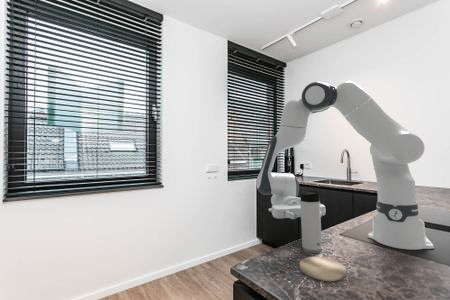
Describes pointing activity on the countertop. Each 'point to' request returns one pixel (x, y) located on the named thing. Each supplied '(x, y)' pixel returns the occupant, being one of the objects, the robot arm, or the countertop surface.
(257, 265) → the countertop surface
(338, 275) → the gold round coaster
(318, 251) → the travel mug
